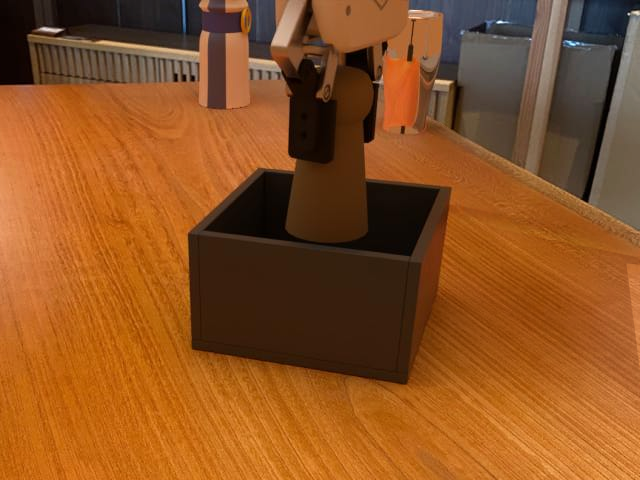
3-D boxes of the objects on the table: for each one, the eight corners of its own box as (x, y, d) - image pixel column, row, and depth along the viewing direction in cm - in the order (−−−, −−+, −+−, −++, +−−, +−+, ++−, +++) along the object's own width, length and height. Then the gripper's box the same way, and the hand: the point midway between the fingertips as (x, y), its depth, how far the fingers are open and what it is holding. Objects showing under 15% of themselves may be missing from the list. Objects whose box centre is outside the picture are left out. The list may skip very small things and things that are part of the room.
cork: (277, 238, 59) (281, 74, 53) (293, 210, 64) (298, 57, 58) (363, 246, 58) (377, 78, 52) (372, 216, 63) (386, 61, 57)
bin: (437, 291, 69) (452, 186, 64) (406, 384, 56) (421, 262, 52) (257, 267, 73) (258, 167, 69) (191, 348, 61) (187, 232, 56)
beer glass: (437, 138, 109) (453, 12, 101) (418, 151, 104) (433, 19, 96) (387, 131, 112) (398, 8, 104) (366, 143, 107) (376, 15, 99)
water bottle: (260, 98, 128) (262, -92, 115) (243, 111, 121) (244, -90, 108) (209, 94, 130) (206, -93, 117) (190, 106, 123) (184, -90, 110)
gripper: (338, -176, 40) (319, 192, 50) (467, -164, 53) (431, 131, 62) (211, -172, 44) (216, 171, 54) (359, -162, 56) (341, 117, 66)
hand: (332, 146), depth 58 cm, fingers closed on cork, 5 cm apart
